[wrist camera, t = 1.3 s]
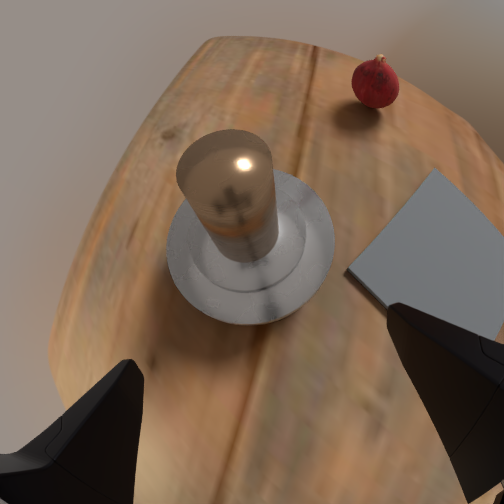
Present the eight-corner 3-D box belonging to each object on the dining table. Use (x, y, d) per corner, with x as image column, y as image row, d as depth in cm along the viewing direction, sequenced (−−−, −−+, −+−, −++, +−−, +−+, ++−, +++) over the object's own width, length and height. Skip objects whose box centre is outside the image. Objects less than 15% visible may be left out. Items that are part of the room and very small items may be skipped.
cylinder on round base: (240, 362, 17) (199, 365, 9) (145, 241, 22) (79, 179, 13) (365, 243, 19) (407, 167, 11) (255, 152, 24) (239, 66, 15)
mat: (460, 389, 17) (463, 389, 17) (346, 269, 23) (348, 267, 22) (523, 267, 20) (526, 266, 19) (432, 170, 25) (434, 167, 25)
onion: (391, 127, 28) (407, 75, 21) (346, 114, 29) (353, 60, 22) (392, 100, 30) (404, 53, 22) (351, 89, 31) (357, 40, 24)
